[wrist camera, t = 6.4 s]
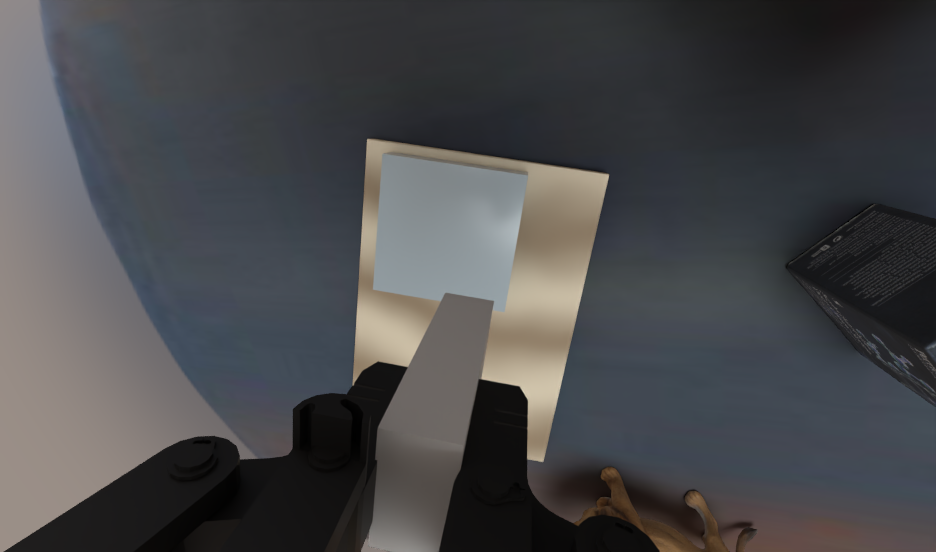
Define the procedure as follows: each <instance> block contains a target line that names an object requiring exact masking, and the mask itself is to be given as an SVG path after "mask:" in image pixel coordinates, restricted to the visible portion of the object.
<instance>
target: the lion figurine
mask: <svg viewBox="0 0 936 552" xmlns="http://www.w3.org/2000/svg"><path fill="white" fill-rule="evenodd" d="M601 478H602V480H604V481H606V482H607V485H608V486H609V488H610V489H611V491H612V492H611V498H609V497H600V498H599V499H598V500H597V502H596V504H597V508H596V507H595V508H589V509H588V510H585V511H584V513H583V516H582V518H581V519H580V520H579V521H577V522H575V523H573V524H575V525H577V526H579V524H580V523H581V522H583V521H584V520H585V519H587V518H588V517H591V516H597V515H608V516H614V517H619V518H621V519H623V520H625V521H627V522H629V523H632V524H634V525H635V526H636V527H638V528H639V529H640V530H641V531H643V532H644V533H645V534H646V535H648V536H649V537H650V539H651V540H652V541H653V543H654V544H655V545H656V547H657V548H658V549H659V551H660V552H729V550H728V549H727V547H726V546H725V544H724V542H723V541H722V539H721V537H720V535H719V533H718V525H717V522H716V520H715V519H714V517H713V516H712V514H711V512H710V511H709V509H708V507H707V505H706V503H705V500H704V499H703V497H702V496H701V494H700V493H698V492H697V491H689V492H688V493H687V495H686V496H685V502H686V503H687V505H689V506H690V507H692V508H694V509H696V510H697V511H698V513H699V514H700V515H701V517H702V519H703V521H704V524H705V534H704V535H703V536H702V537H703V542H704V544H705V549H700V548H698V547H696V546H695V545H694V544H693V543H692V542H691V541H689V540H688V539H687V538H686V537H685V536H683V535H682V534H681V533H680V532H678V531H677V530H676V529H674V528H672V527H670V526H668V525H666V524H664V523H662V522H659V521H655V520H651V519H645V518H639V516H638V514H637V512H636V511H635V509H634V507H633V506H632V504H631V502H630V499H629V497H628V495H627V492H626V490H625V487H624V484H623V481H622V479H621V476H620V474H619V473H618V471H617V470H616V469H615V468H613V467H607V468H605V469H603V470H602V474H601ZM757 531H758V530H757V529H752V528H749V527H748V528H745V529H744V530H742V532H741V533H740V535H739V536H738V540H737V545H736V552H744V549H745V545H746V543H747V542H748V541H749V540H751V539H752V538H753V537H754V535H755V534H756V533H757Z"/></svg>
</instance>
